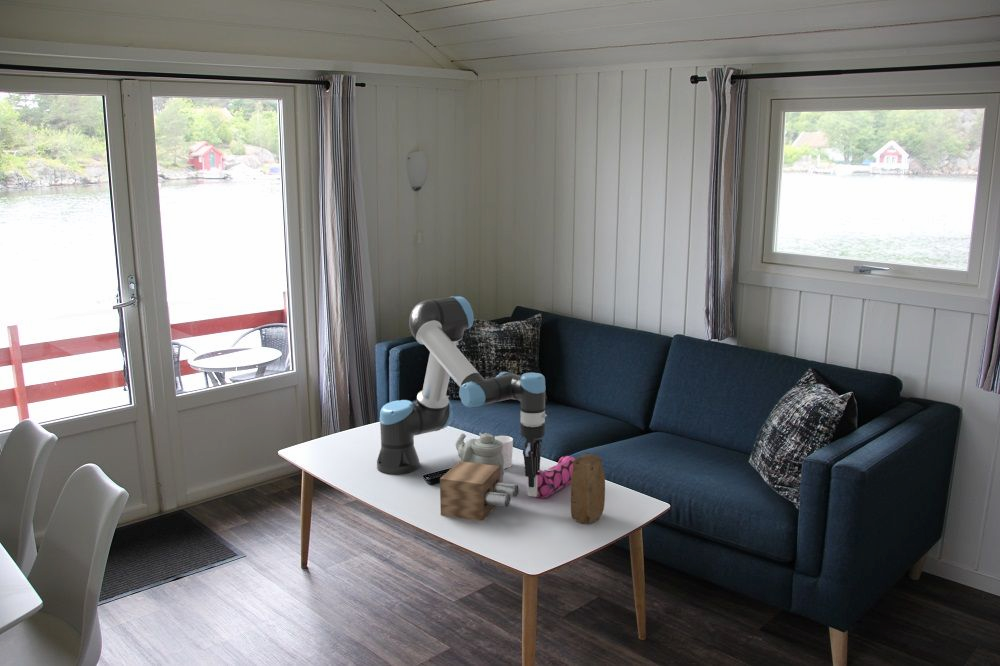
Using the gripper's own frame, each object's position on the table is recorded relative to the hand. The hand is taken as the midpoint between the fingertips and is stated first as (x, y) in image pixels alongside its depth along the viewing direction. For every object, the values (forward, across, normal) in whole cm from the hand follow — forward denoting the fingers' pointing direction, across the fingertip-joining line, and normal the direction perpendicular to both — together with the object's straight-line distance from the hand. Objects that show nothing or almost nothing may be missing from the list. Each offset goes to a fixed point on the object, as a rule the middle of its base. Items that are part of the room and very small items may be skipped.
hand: (532, 495), depth 270 cm
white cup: (+6, +34, +22) cm, 41 cm away
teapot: (+6, +16, +24) cm, 30 cm away
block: (+6, 0, -18) cm, 19 cm away
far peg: (+1, 0, +12) cm, 12 cm away
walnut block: (+5, -4, +19) cm, 20 cm away
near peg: (+1, -8, +12) cm, 15 cm away
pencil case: (+6, +20, -2) cm, 21 cm away
